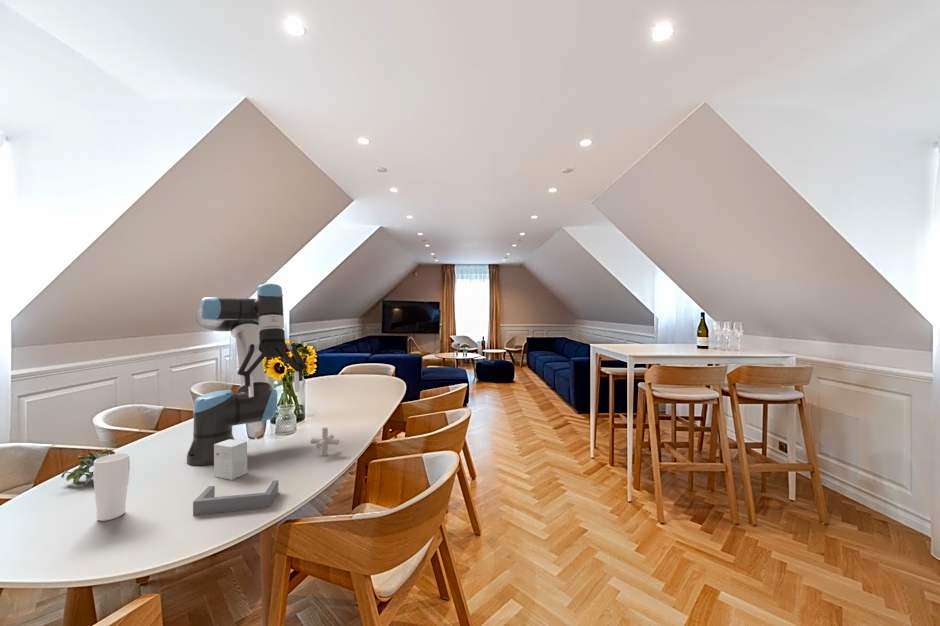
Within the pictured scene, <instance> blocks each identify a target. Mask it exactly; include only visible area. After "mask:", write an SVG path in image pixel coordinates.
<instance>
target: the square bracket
mask: <svg viewBox="0 0 940 626" xmlns="http://www.w3.org/2000/svg"><path fill="white" fill-rule="evenodd" d="M215 487H216V485H209V486H207V487H206V488H205V489H204V490H203V491H202V492H201V493H200V494H199V495H198V496H197V497H196V498H195V499H194V500H193V502H192V516H200V515H210V514H211V515H212V514H219V513H229V512H238V511H239V512H240V511H246V510H247V511H248V510H257V509H267V507H269V508H271V506H270V505H272V504H273V502H274V501H273V500H275V499H274V498H276V497H277V495H278V494H279V479H278V480H277V479H274V480H272V481H271V483H270V485H268V487H267V489H266V490H265V492H258V493H257V492H255V493H248V494H247V493H245V494H244V493H243V494H236V495H233V494H232V495H223V496H216V494H215V489H216V488H215ZM277 493H278V494H277Z"/></svg>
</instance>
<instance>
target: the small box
mask: <svg viewBox="0 0 940 626" xmlns="http://www.w3.org/2000/svg"><path fill="white" fill-rule="evenodd" d="M246 474H248V441H246V440H240V439H239V440H237V439H234V440H232V439H229V440H226V441H222V442H219V443H216V444H214V464H213V477H215V478H219V479H224V480H228V481H229V480H231V481H233V480H235V479H237V477H238V478H239V477H242V476H243V475H246Z"/></svg>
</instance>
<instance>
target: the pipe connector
mask: <svg viewBox="0 0 940 626" xmlns="http://www.w3.org/2000/svg"><path fill="white" fill-rule="evenodd" d="M328 429H329V428H328V427H327V426H325V427H322V429H321V430H322V435H321V436H322V437H321V438H315V437H314V438H311V439H310V444H312V445H313V444H315V447H316V449H322V454H321V456H322V455H323V456H322V457H326V456H328V452H329V451H328V445H335V446H337V445H339V444H340V440H339V439H336V438H334V437H335V436H334V434H329V435H328V433H329V432H328Z"/></svg>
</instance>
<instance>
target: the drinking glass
mask: <svg viewBox="0 0 940 626" xmlns="http://www.w3.org/2000/svg"><path fill="white" fill-rule="evenodd" d="M130 465H131V459H130V454H129V453H128V452H127V453H126V452H119V453H116V454H111V455H110V454H109V455H106V456H103V457H100V458H98V459H96V460H95V461H94V466H92V467H93V470H92V472H93V477H92V478H93V487H94V497H95V507H96V508H95V509H96V519H97V520H98V521H101V522H105V521H111V520H114V519H117V518H119V517H121V516H122V515H124V514H125V512H126V507H127V506H126V503H127V496H128V495H127V494H128V487H129V477H130V469H131V467H130Z"/></svg>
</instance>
